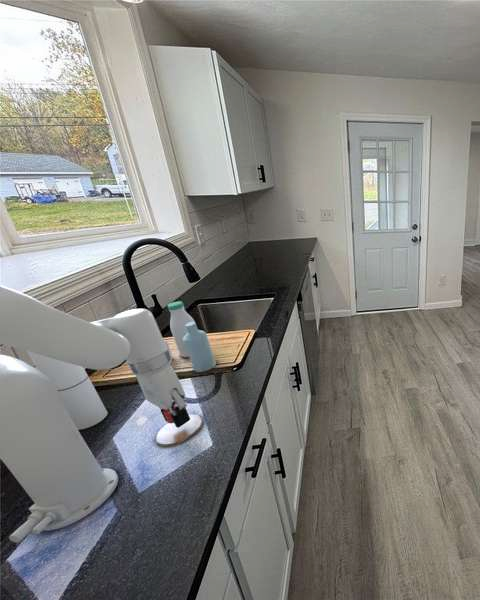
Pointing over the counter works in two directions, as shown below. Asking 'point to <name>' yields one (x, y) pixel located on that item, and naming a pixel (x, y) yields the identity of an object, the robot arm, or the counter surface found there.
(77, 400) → the cylindrical container
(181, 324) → the milk bottle
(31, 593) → the counter surface
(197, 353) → the water bottle
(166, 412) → the cap
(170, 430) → the coaster
